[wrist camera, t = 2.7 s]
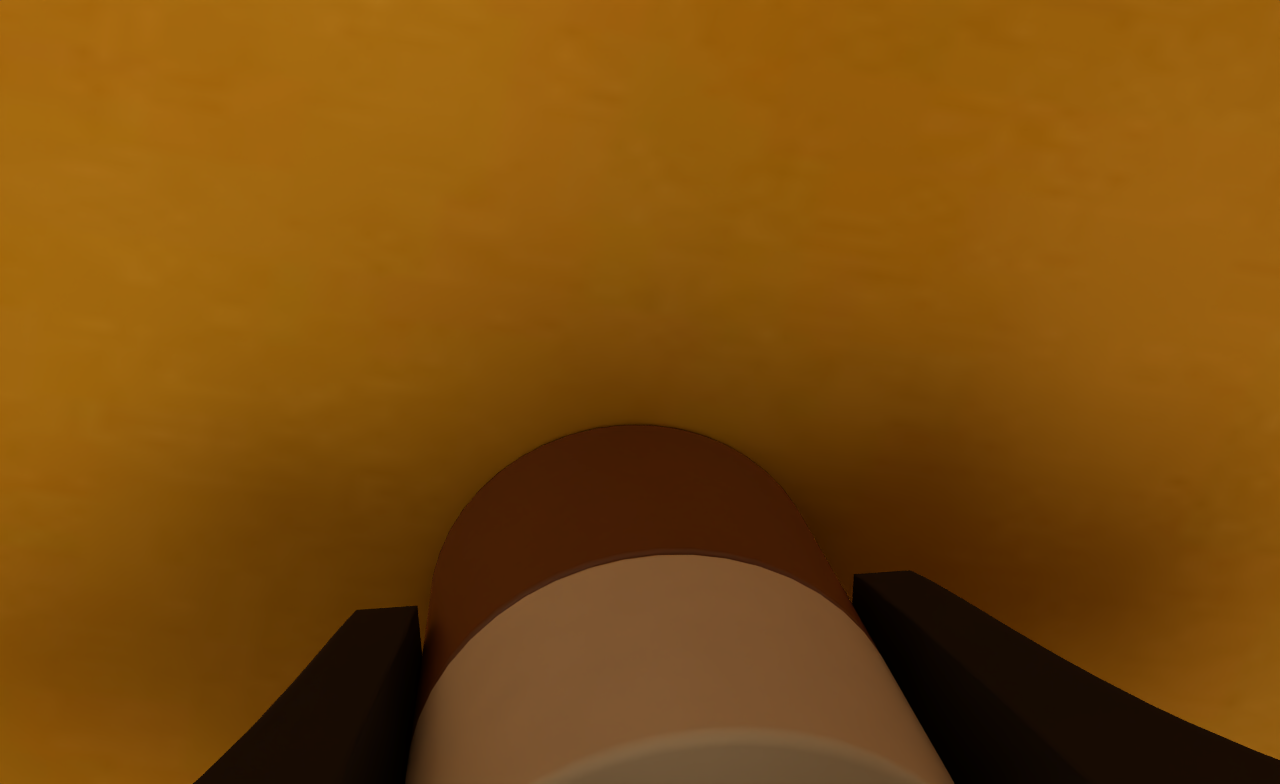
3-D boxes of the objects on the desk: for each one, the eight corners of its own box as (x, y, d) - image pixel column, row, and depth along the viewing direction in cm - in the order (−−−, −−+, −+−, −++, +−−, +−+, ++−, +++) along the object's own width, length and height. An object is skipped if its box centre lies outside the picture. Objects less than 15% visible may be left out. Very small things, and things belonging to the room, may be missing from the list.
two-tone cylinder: (812, 751, 14) (993, 1198, 9) (445, 783, 13) (404, 1276, 8) (825, 411, 12) (1054, 706, 7) (414, 435, 12) (339, 767, 7)
